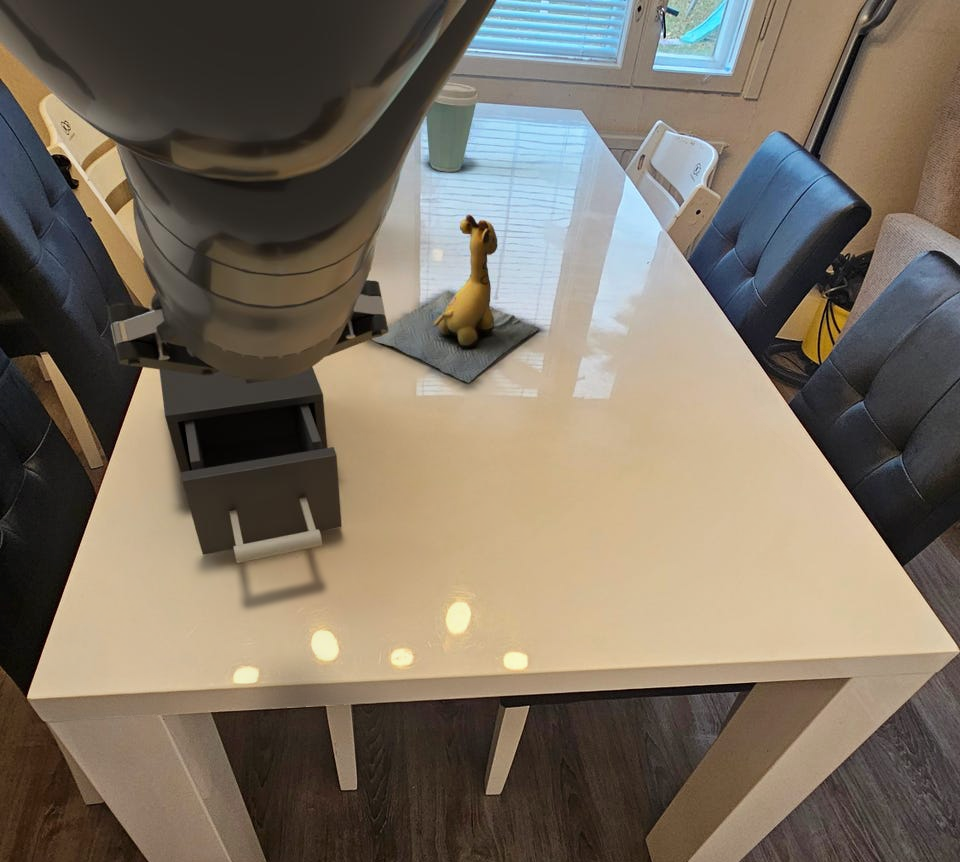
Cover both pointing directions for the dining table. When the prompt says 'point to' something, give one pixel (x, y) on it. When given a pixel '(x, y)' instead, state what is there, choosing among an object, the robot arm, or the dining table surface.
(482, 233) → the stuffed giraffe
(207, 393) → the dark gray cabinet
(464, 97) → the disposable coffee cup
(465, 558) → the dining table surface
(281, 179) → the robot arm
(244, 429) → the drawer
